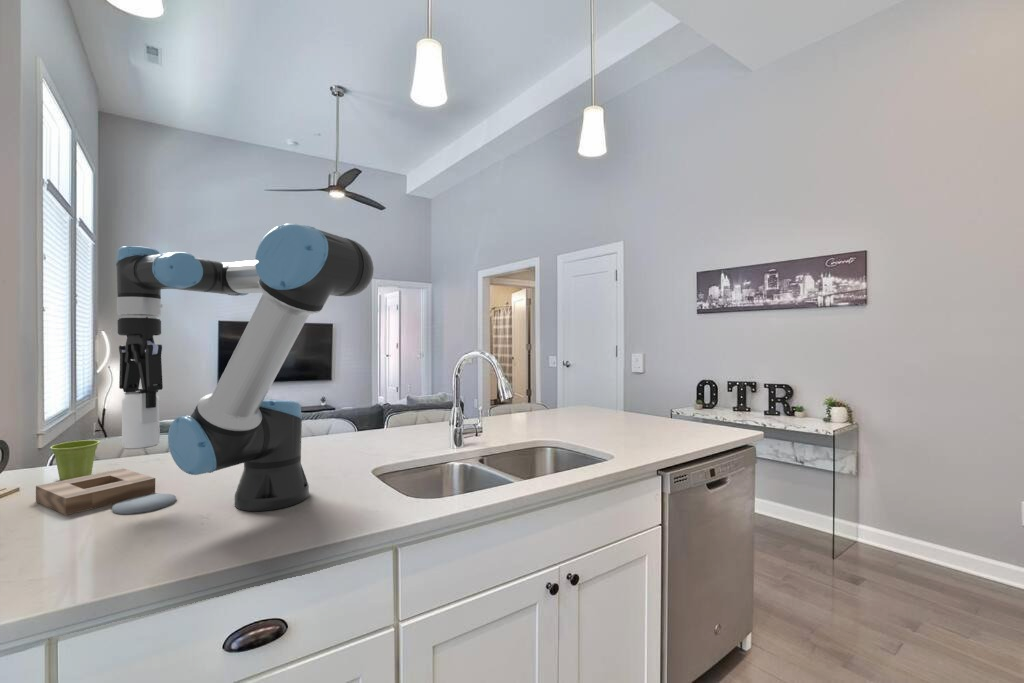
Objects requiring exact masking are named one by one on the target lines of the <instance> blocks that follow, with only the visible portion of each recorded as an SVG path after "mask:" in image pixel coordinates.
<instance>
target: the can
mask: <svg viewBox="0 0 1024 683" xmlns="http://www.w3.org/2000/svg"><path fill="white" fill-rule="evenodd" d="M157 393H158V392H156V400H157V422H153V423H146V424H141V414H140V394H139V391H136V392H128V393H126V392H123V394H124V396H123V398H122V400H121V441H122V442H121V443H122V444H121V446H122V448H123V449H125V450H140V449H148V448H153V447H156V446H158V445H159V444H161V443H160V442H161V441H160V440H161V438H160V436H161V435H160V434H161V432H160V431H161V430H160V428H161V426H160V425H161V424H160V423H161V422H160V421H161V419H160V415H161V414H160V397H159V395H158V394H157Z"/></svg>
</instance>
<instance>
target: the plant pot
mask: <svg viewBox="0 0 1024 683" xmlns="http://www.w3.org/2000/svg"><path fill="white" fill-rule="evenodd" d="M99 444H101V443H100V440H95V439H89V440H87V439H85V440H75V441H67V442H61V443H58V444H53V445H51V446H50V448H49V449H50V450H52V454H53V455H54V458H55V463H56V467H57V472H58V478H59V480H60V481H63V480H68V479H73V478H78V477H83V476H88V475H92V473H93V468H94V467H93V466H94V461H95V455H96V450H97V449H98V445H99Z"/></svg>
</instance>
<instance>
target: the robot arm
mask: <svg viewBox="0 0 1024 683" xmlns="http://www.w3.org/2000/svg"><path fill="white" fill-rule="evenodd" d="M254 257H255V259H253V260H241V261H230V262H229V261H228V262H226V261H225V262H223V261H217V260H216V261H215V260H210V259H205V258H200V257H195V256H194V255H192V254H191V253H190V252H189V253H188V252H185V251H169V252H164V253H160V251H159V250H158V249H156V248H152V247H146V246H138V245H133V246H132V245H130V246H129V245H126V246H121V247H119V248H118V249H117V258H116V262H115V266H116V288H117V289H116V290H117V292H116V293H117V297H116V314H117V316H119V317H118V319H117V334H118V335H119V336H125V337H126V341H125V345H124V344H123V345H118V351H119V378H118V379H119V382H118V383H119V384H118V385H119V387H118V388H119V389H120V390H121V389H122V391H123V393H128V392H138V391H139V394H140V414H141V424H146V423H153V422H157V400H156V393H159V391H160V390H163V369H162V368H163V367H162V351H163V345H162V344H157V343H156V344H155V340H154V337H155V336H160V335H162V320H161V319H160V318H158V317H160V316H162V315H161V313H162V310H161V309H162V308H163V304H162V302H161V298H162V297H161V296H162V295H161V294H162V293H161V292H162V290H181V291H188V292H189V291H191V292H199V293H200V292H201V293H211V294H222V295H227V296H235V297H237V296H247V295H249V294H252V293H253V294H258V293H259V294H260V293H261V294H262V295H261V297H260V299H259V301H258V303H257V306H256V307H255V309H254V311H253V313H252V315H251V316H250V319H249V321H248V323H247V325H246V327H245V329H244V330H243V333H242V335H241V337H240V339H239V340H238V343H237V345H236V347H235V349H234V350H233V352H232V355H231V357H230V359H229V360H228V362H227V365H226V367H225V369H224V371H222V374H221V376H220V378H219V381H218V382H217V384H216V386H215V388H214V390H213V392H211V393H208V394H206V395H204V396H203V397H200V398H199V400H198V402H197V404H196V406H195V408H194V410H193V412H192V413H191V414H189V415H188V414H185V415H181V416H179V417H176V418H175V419H174V420H173V421H172V422H171V424H170V425H169V430H168V433H167V440H168V441H167V444H168V448H169V452H170V455H171V458H172V460H173V461H174V463H175V465H176V466H177V467H178V468H179V469H180V470H181V471H182V472H184V473H185V474H187V475H191V476H199V475H202V474H208V473H209V474H211V473H214V472H217V471H220V470H223V469H226V468H230V467H233V466H238V465H241V464H243V471H242V474H241V476H240V479H239V483H238V485H237V487H236V491H235V494H234V507H235V508H237V509H239V510H242V511H247V512H263V511H273V510H278V509H284V508H287V507H291V506H294V505H298V504H300V503H302V502H303V501H305V500H306V499H308V497H310V496H309V495H310V494H309V492H310V487H309V483H308V480H307V477H306V476H307V475H306V474H305V470H304V469H303V465H302V425H303V424H302V422H303V421H302V420H303V417H302V407H301V405H300V403H299V402H297V401H296V400H288V399H268V398H266V396H267V394H268V393H269V390H270V389H271V387H272V385H273V383H274V381H275V379H276V378H277V375H278V374H279V372H280V370H281V368H282V366H283V365H284V363H285V361H286V359H287V357H288V356H289V353H290V352H291V349H292V348H293V346H294V344H295V342H296V340H297V339H298V336H299V334H300V333H301V331H302V329H303V327H304V325H305V323H306V321H307V319H308V318H309V316H310V315H313V314H318V313H319V312H321V311H322V310H323V308H324V306H325V304H326V302H327V301H328V300H329V297H330V296H335V297H352V296H356V295H358V294H360V293H362V292H363V291H365V290H366V289H367V288H368V286H369V285H370V284H371V282H372V281H373V280H372V279H373V277H374V262H373V260H372V256H371V255H370V253H369V252H368V250H367V249H366V248H365V247H364V246H363V245H362V244H360V243H359V242H357V241H356V240H353V239H350V238H347V237H343V236H339V235H338V234H337V235H336V234H333V233H330V232H326V231H325V230H320V229H318V228H316V227H315V226H314V227H313V226H310V225H302V224H297V223H285V224H280V225H277V226H275V227H273V228H272V229H270V231H268V232H267V233H266V234H265V235H264V236H263V238H262V239H261V241H260V242H259V243H258V246H257V250H256V252H255V256H254ZM140 384H141V386H140Z"/></svg>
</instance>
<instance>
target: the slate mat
mask: <svg viewBox="0 0 1024 683" xmlns="http://www.w3.org/2000/svg"><path fill="white" fill-rule="evenodd" d="M176 501H177V496H176V495H175V494H171V493H153V494H149V495H144V496H139V497H134V498H130V499H127V500H124V501H121V502H117V503H114V504H113V505H112V507H111V508H112V509H111V511H112V513H114V514H117V515H135V514H143V513H147V512H148V513H149V512H153V511H156V510H161V509H163V508H167V507H169V506H170V505H171V506H172V505H173V504H174V503H176Z"/></svg>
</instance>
